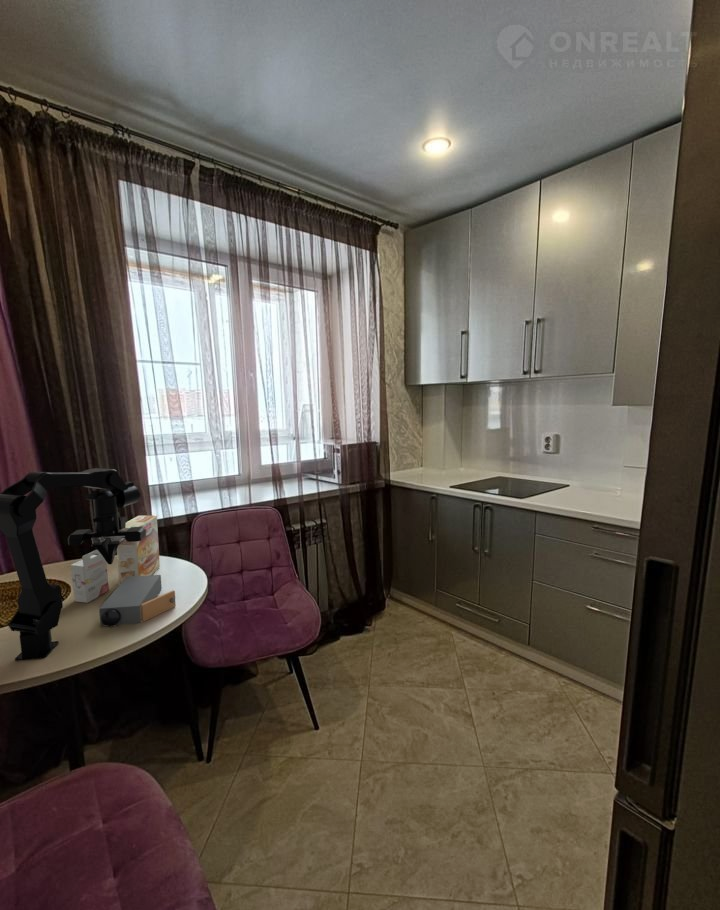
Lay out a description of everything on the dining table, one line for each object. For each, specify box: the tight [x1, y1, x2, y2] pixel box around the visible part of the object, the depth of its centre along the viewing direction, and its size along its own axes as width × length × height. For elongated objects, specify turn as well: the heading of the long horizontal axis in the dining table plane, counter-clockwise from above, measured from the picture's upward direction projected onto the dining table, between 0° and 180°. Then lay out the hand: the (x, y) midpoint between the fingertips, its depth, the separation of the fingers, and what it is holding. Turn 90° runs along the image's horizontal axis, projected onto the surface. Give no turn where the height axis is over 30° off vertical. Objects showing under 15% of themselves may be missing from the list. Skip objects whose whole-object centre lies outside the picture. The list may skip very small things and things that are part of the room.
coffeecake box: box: [116, 515, 161, 586], centre depth 142 cm, size 15×7×20 cm, turn 1°
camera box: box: [98, 574, 163, 627], centre depth 122 cm, size 21×10×5 cm, turn 10°
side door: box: [141, 589, 177, 622], centre depth 118 cm, size 10×2×5 cm, turn 150°
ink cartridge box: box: [70, 549, 110, 604], centre depth 128 cm, size 9×5×15 cm, turn 168°
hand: (110, 563), depth 121 cm, fingers closed
